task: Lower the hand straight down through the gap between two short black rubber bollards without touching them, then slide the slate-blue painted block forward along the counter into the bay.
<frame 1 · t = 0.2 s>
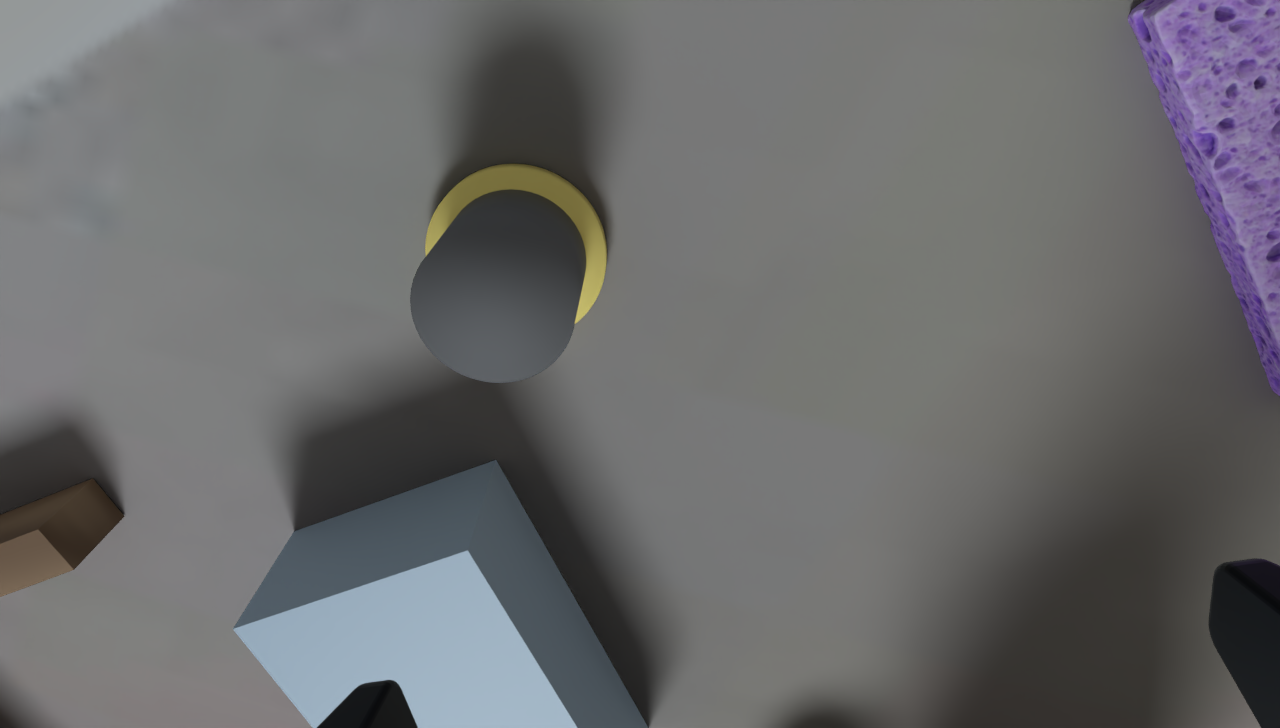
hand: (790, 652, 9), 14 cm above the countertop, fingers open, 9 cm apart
bollards: (679, 574, 26), on the countertop
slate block: (484, 629, 28), on the countertop
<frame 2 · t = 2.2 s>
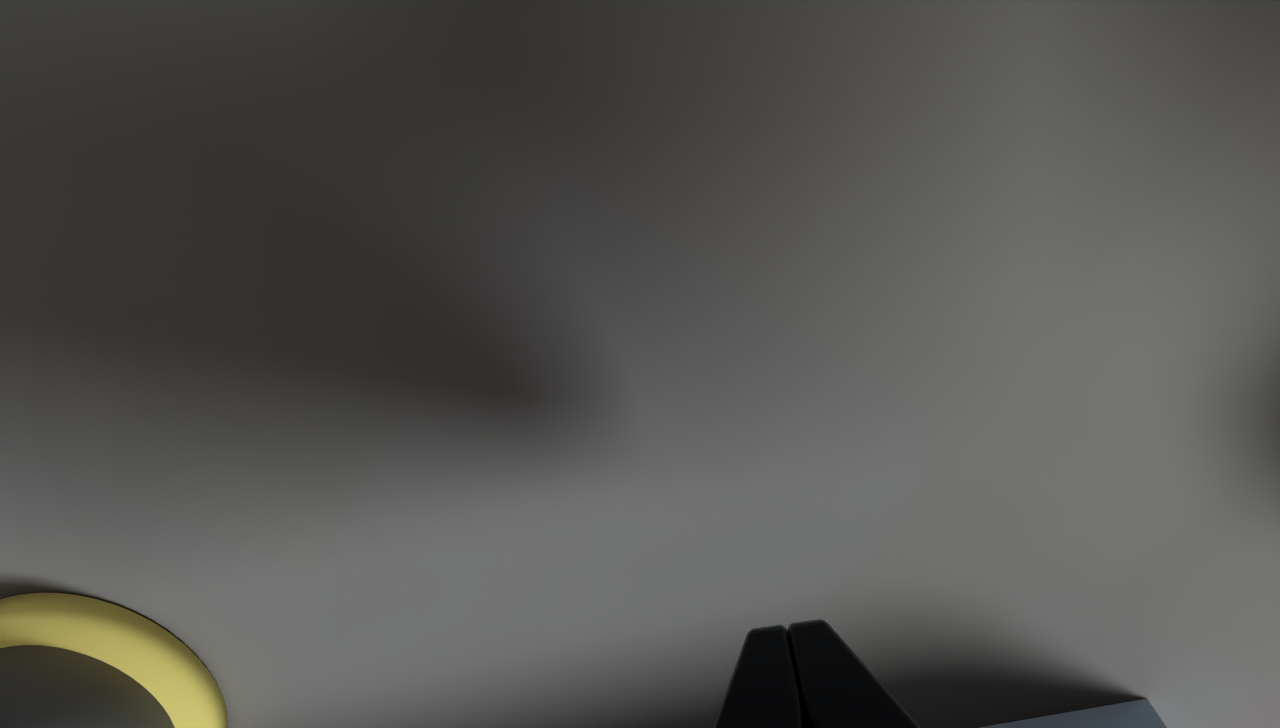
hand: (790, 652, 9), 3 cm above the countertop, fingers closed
bollards: (771, 603, 13), on the countertop
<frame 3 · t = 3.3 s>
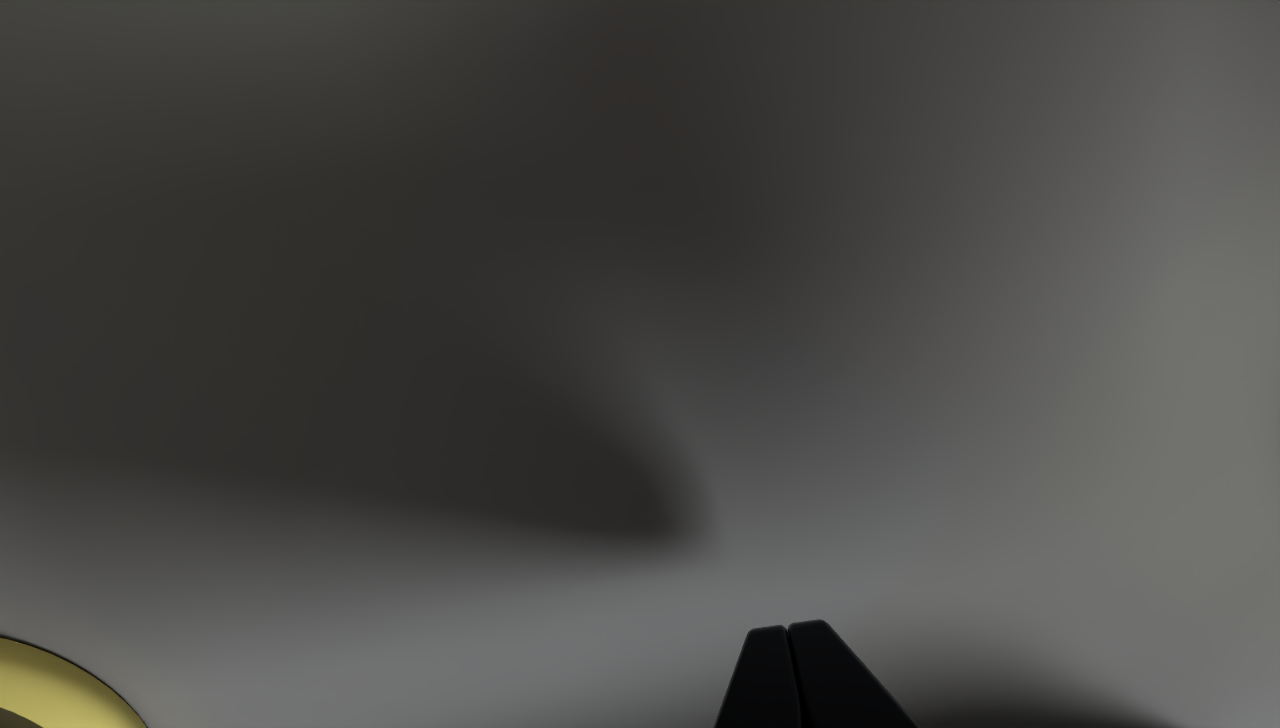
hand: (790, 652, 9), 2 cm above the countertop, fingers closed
bollards: (786, 642, 11), on the countertop
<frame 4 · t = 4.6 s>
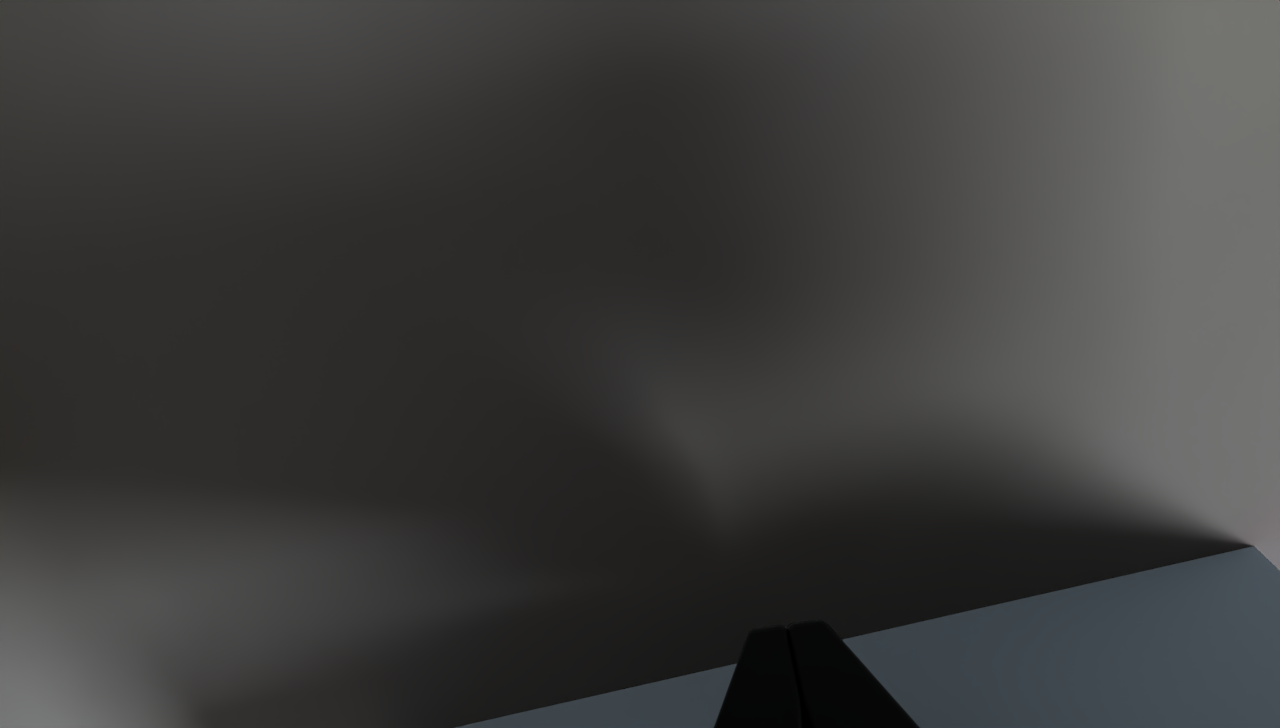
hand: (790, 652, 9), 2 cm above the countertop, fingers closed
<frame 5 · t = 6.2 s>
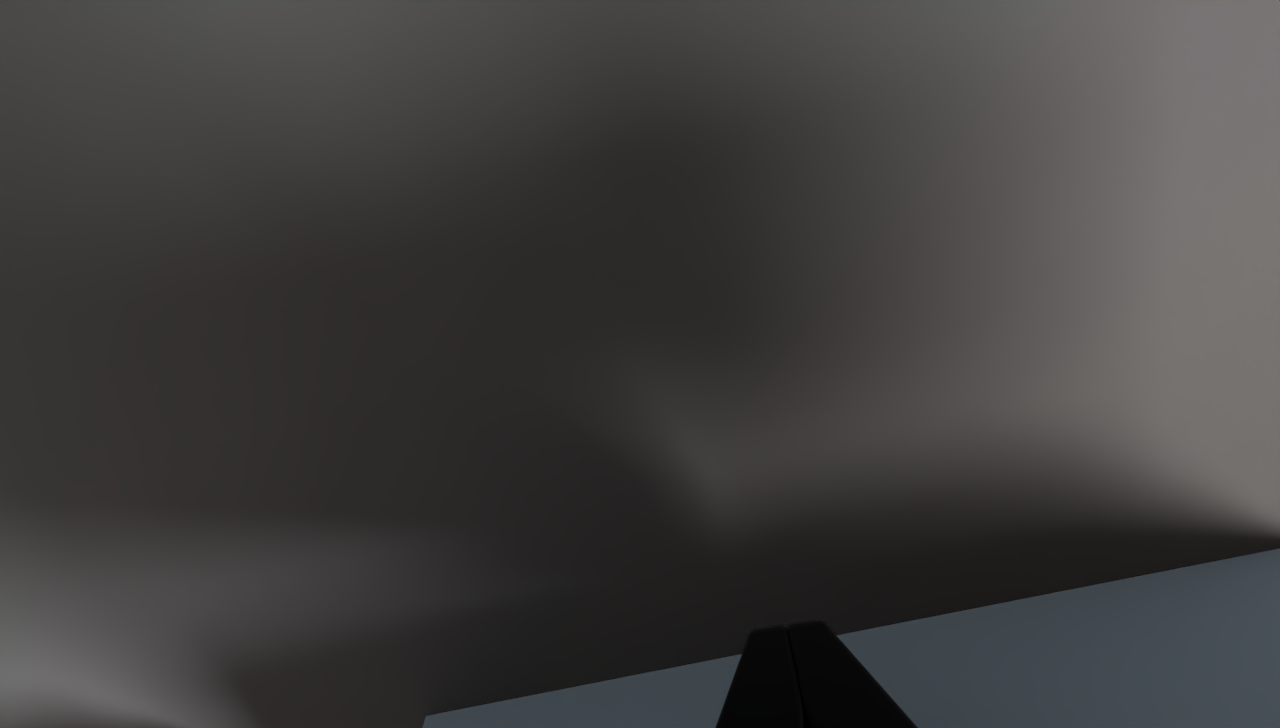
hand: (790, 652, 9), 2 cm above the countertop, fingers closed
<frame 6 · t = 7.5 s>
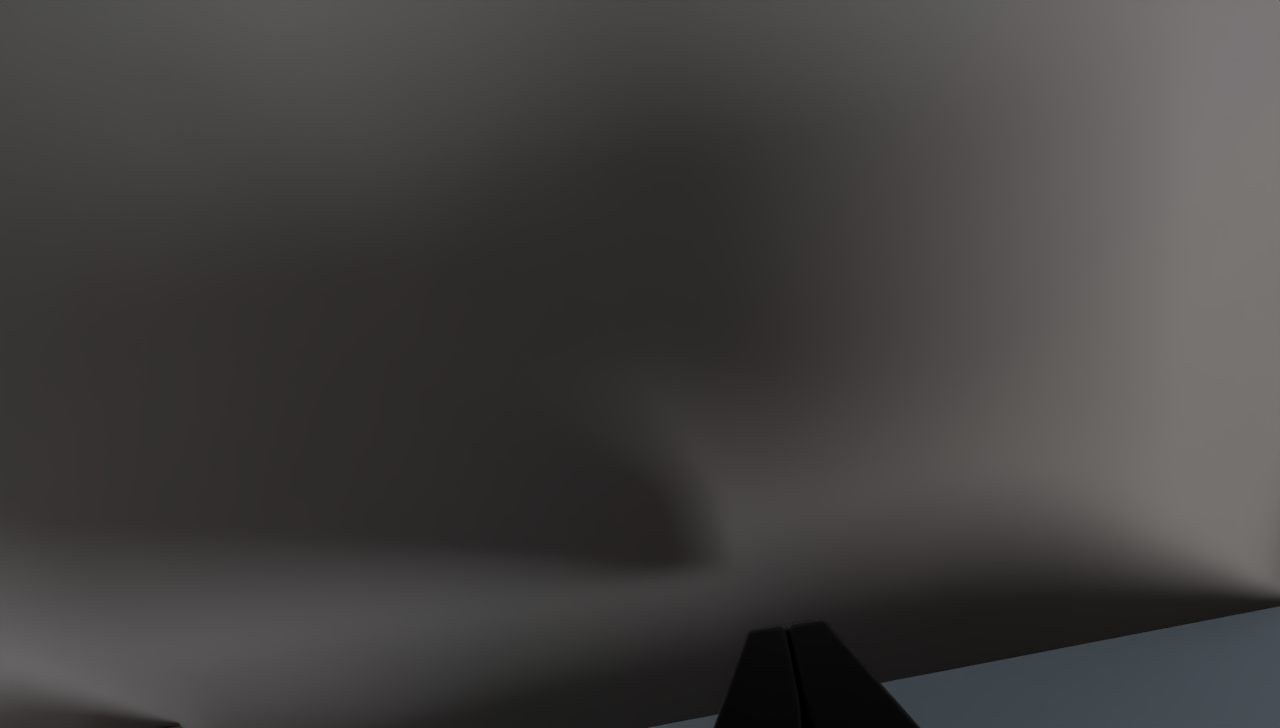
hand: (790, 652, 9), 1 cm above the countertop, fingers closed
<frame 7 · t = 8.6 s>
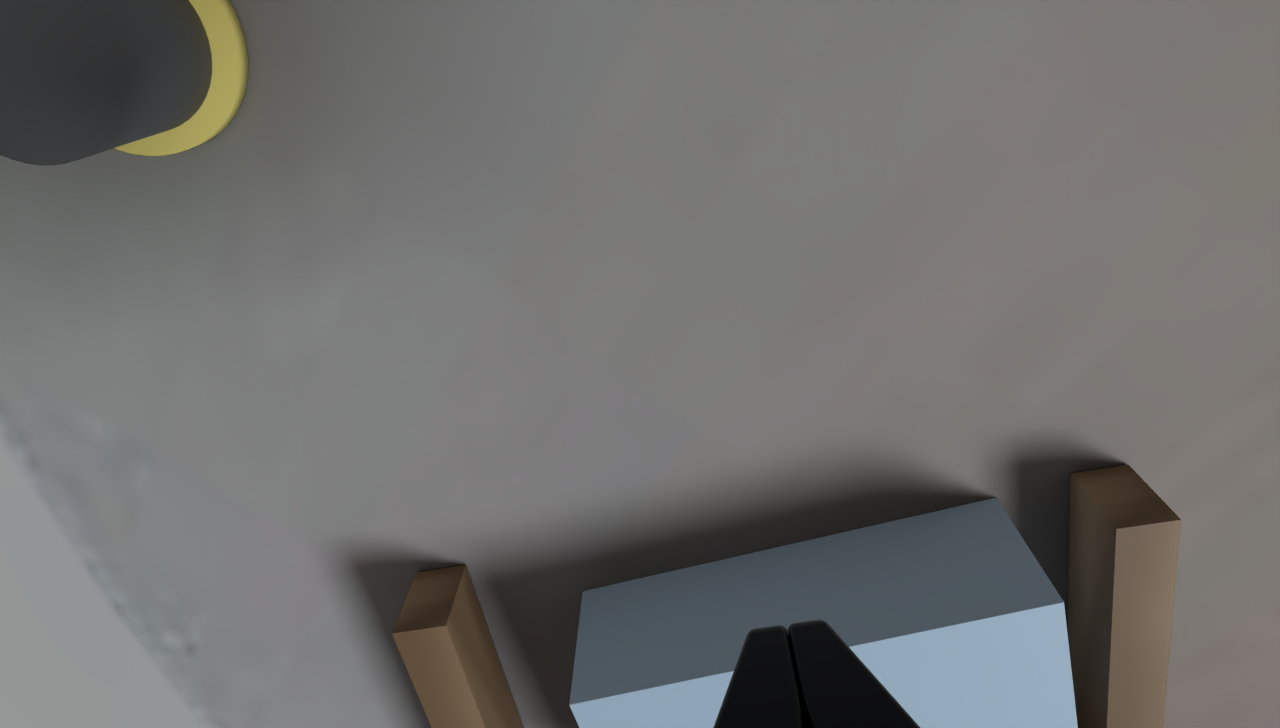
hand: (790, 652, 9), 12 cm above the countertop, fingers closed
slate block: (806, 629, 26), on the countertop
bay: (779, 654, 25), on the countertop
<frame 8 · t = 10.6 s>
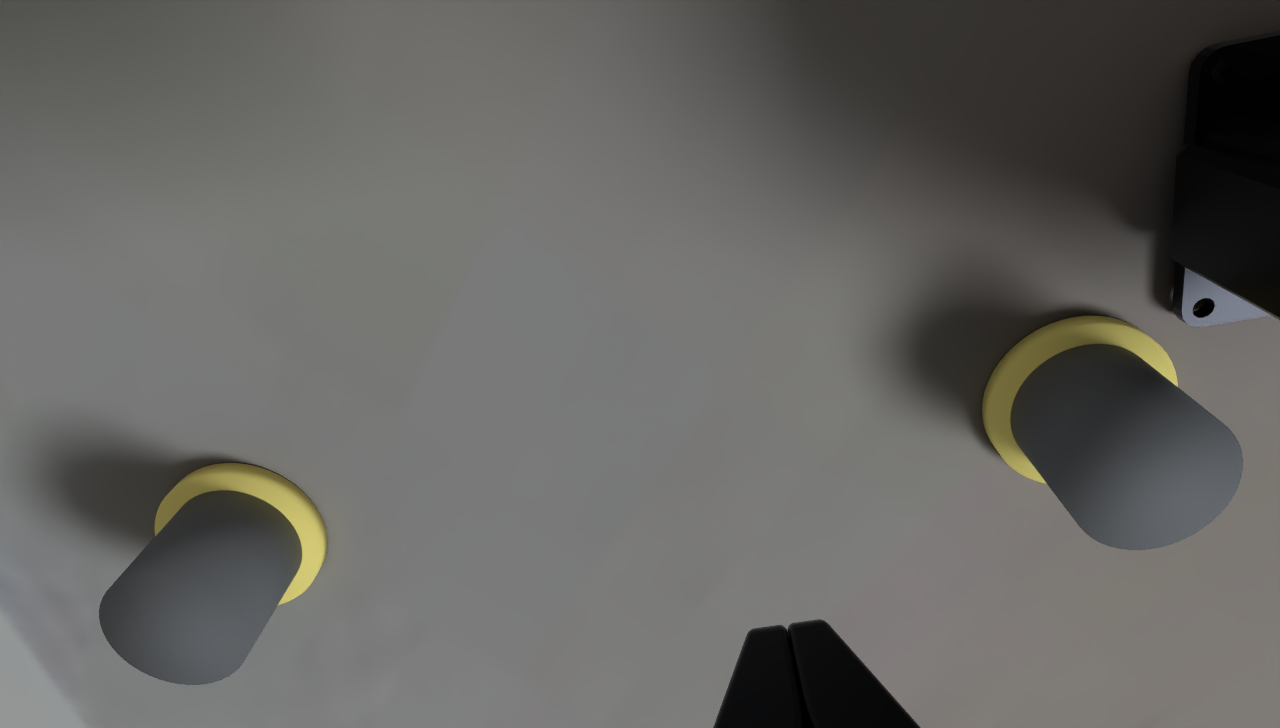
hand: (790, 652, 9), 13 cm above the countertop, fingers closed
bollards: (639, 467, 23), on the countertop
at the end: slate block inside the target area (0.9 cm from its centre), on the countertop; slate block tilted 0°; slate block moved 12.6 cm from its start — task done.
